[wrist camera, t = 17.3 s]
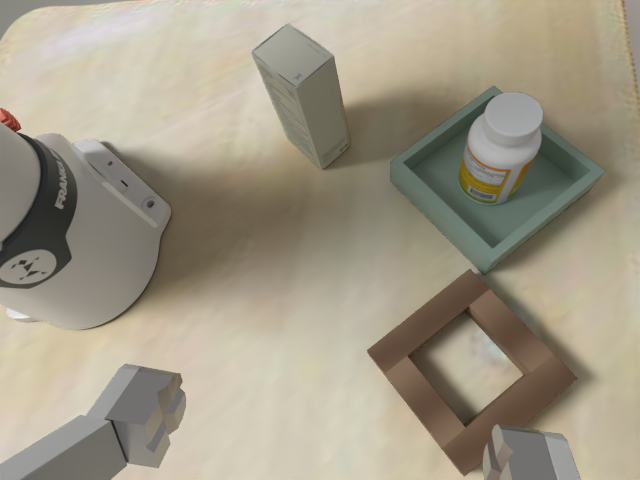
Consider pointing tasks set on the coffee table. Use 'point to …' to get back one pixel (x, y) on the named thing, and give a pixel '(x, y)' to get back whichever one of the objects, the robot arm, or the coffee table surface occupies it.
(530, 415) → the socket block
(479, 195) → the supplement bottle
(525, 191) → the tray
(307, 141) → the skincare box
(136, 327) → the coffee table surface
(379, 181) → the coffee table surface
